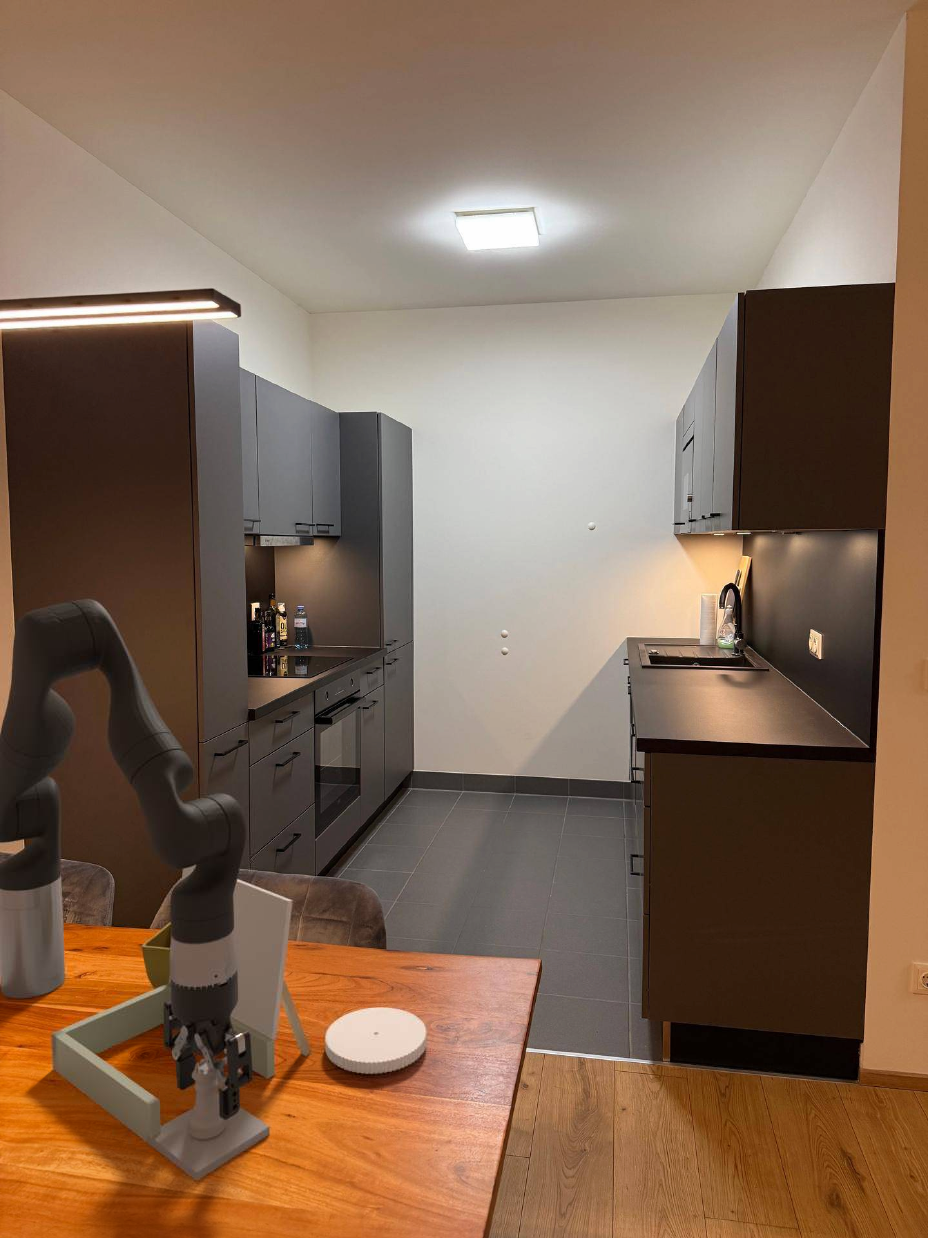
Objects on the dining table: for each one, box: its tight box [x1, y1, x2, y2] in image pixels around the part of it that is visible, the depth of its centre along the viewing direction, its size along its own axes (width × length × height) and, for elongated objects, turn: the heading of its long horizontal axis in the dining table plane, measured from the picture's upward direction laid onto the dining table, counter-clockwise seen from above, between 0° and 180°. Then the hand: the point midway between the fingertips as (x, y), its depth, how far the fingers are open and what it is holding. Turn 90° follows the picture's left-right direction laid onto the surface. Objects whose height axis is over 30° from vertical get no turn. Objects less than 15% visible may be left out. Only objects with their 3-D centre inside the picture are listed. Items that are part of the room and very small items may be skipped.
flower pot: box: [141, 922, 171, 990], centre depth 139 cm, size 9×9×9 cm
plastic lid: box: [324, 1006, 428, 1075], centre depth 123 cm, size 14×14×2 cm
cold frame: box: [51, 979, 312, 1143], centre depth 120 cm, size 24×24×12 cm
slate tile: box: [146, 1093, 271, 1182], centre depth 105 cm, size 10×10×1 cm
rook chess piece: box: [188, 1059, 227, 1140], centre depth 104 cm, size 4×4×8 cm
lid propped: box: [169, 865, 293, 1040], centre depth 125 cm, size 24×4×18 cm, turn 51°
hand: (207, 1101), depth 104 cm, fingers open, 8 cm apart
